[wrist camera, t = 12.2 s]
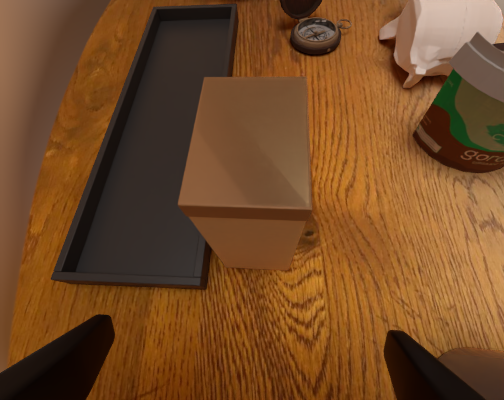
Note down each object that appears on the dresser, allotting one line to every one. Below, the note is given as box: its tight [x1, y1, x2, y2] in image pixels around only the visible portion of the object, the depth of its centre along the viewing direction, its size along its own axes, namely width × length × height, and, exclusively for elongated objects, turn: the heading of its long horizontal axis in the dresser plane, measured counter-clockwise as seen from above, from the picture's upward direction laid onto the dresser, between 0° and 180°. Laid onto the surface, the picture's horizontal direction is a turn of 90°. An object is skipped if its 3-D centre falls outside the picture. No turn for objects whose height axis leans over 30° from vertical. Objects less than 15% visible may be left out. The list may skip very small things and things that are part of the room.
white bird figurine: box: [379, 0, 503, 88], centre depth 27 cm, size 8×8×15 cm
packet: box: [178, 77, 312, 271], centre depth 16 cm, size 7×5×12 cm
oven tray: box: [51, 4, 238, 290], centre depth 27 cm, size 35×11×2 cm, turn 177°
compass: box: [280, 0, 352, 54], centre depth 30 cm, size 8×8×7 cm
